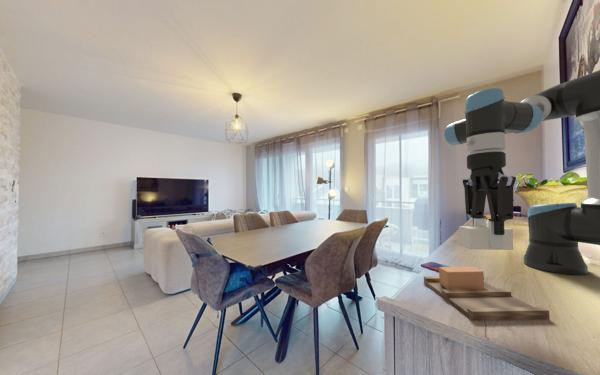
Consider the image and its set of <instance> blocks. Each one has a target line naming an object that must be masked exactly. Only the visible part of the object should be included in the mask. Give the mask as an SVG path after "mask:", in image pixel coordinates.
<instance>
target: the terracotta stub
mask: <svg viewBox="0 0 600 375" xmlns="http://www.w3.org/2000/svg"><path fill="white" fill-rule="evenodd" d="M484 275H485V274H484V270H482V269H479V268H477V267H475V266H449V267H439V272H438V276H439V279H440V284H441V285H442V286H444V287H445V288H447V289H484V282H485V276H484Z"/></svg>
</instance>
